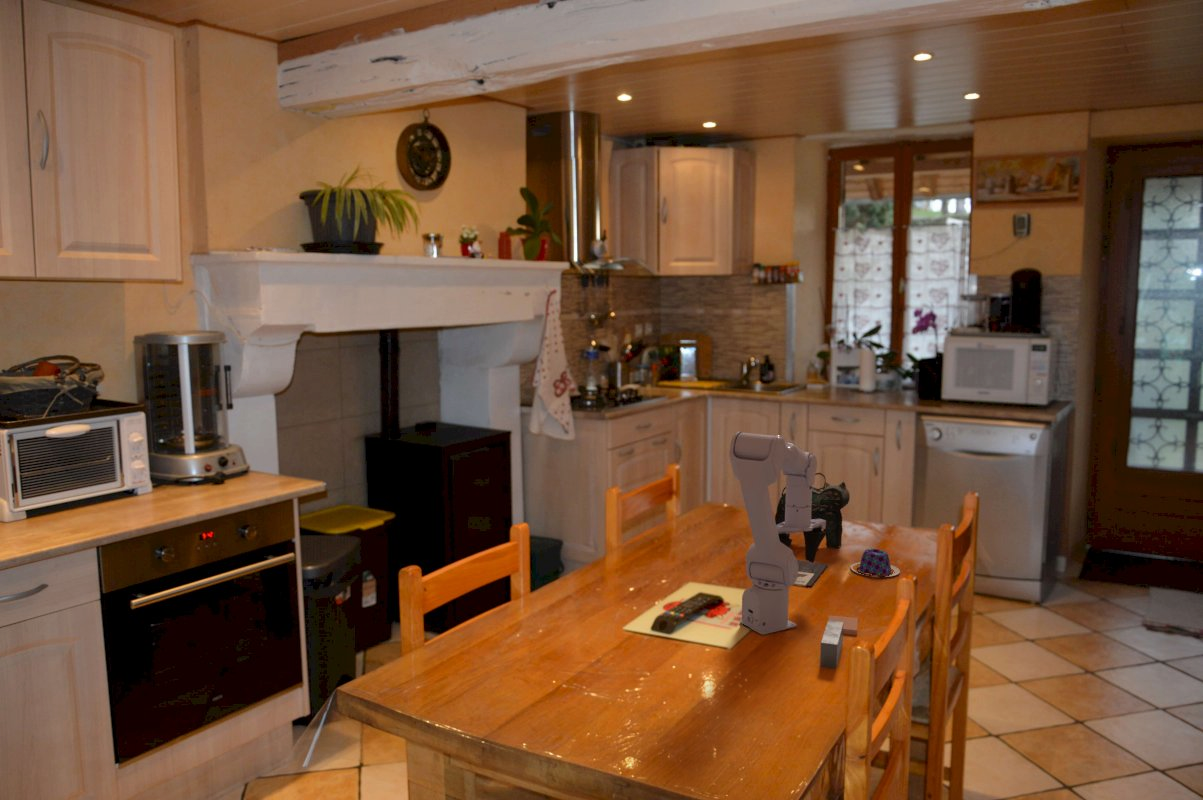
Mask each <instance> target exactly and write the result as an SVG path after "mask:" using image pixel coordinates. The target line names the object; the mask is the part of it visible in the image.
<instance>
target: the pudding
mask: <svg viewBox="0 0 1203 800" xmlns="http://www.w3.org/2000/svg"><path fill="white" fill-rule="evenodd" d="M857 564H860V565H859V570H860V571H859V570H858V571H859V572H861V571H862V572H863V573H869V574H872V575H879V574H880V575H887V576H885V577H884V578H890V577H894V576H897V575H899V574H900V573H901V570H900V569H899V568H898V567H897V566H895V565H892V564H891V561H890V557H889V554H888V552H887V551H886V550H882V549H878V548H870V549H866V550H864V551H863V553H862V555H861V559H860V561H858V562H855V563H852V564H851V565H850V570H852V572H855V573H857V574H859V575H863V576H867V577H870V576H869V574H866V575H864V574H861V573H862V572H861V573H858V572H856V571H855V570H854V569H853V566H855V565H857ZM891 569H893V570H894V572H895V573H894V572H893V574H892V575H891V573H892V571H891ZM872 575H871V576H872ZM888 575H889V576H888ZM872 577H875V578H876V577H877V578H879V577H878V576H872Z"/></svg>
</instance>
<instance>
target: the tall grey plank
mask: <svg viewBox="0 0 1203 800" xmlns="http://www.w3.org/2000/svg"><path fill="white" fill-rule="evenodd" d="M843 623H844V622H838V621H831V620H828V619H827V622H826V626H825V630H824V632H823V635H822V638H821V642H820V654H819V655H820V656H819V657H820V658H819V662H820V663H819V667H820V668H825V669H832V670H837V668H838V664H839V660H840V657H841V652H842V649H843V644H844V643H843V642H844V641H843V640H844V634H843Z"/></svg>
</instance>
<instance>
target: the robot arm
mask: <svg viewBox="0 0 1203 800" xmlns="http://www.w3.org/2000/svg"><path fill="white" fill-rule="evenodd" d="M728 453H729V454H728V455H729V456H728V457H729V460H730V463H731V469H732V471H733V475H734V477H735V478H736V479H737V480H738V481H739V484H740V489H741V494H742V499H743V503H744V506H745V510H746V515H747V518H748V523H749V527H750V530H751V534H752V540H753V542H752V543H751V545H750V546H749V548H748V549H747V551H746V554H745V572H746V575H747V577H748V578H749V579H750V580H751V584H752V585H751V586H750V587H748V588H746V589H745V590H744V591H743V592H742V593H743V594H742V595H741V619H740V620H738V622H740V623H739V624H741V623H742V624H741V625H743V624H744V625H746V626H748V627H750V628H751V629H750V628H749V629H750V630H753V631H754V632H756V633H758V634H760V635H762V636H763V635H769V634H772V633H776V632H781V631H784V630H789V629H793V628H797V626H798V625H797V623H795V622H794V621H791V620H789V601H790V600H789V599H790V597H789V596H790V588H791V587H792V586H794V585H793V584H794V583H795V581H796V579H797V576H798V561H797V560H798V559H797V558H796V557H795V554H794V552H793V549H792V548H791V546H792V542H793V539H791V538H790V537H789V538H787V537H788V536H786V534H790V535H791V534H796V533H803V538H804V546H805V547H804V549H805V551H804V557H805V561H808V562H815V559H816V556H817V554H818V553H817V552H818V551H819V548H820V545H821V543H822V542H823V539H824V538H826V535H825V531H823V529H825V528H826V521H825V520H822V519H811V507H812V487H813V485H815V480H816V475H815V474H816V473H817V468H818V459H817V456H816V455H815V454H813V453H812V452H809V451H803V450H802V447H801V446H797V445H796V442H794V441H791V440H786V441H785V437H784V436H782V435H780V434H779V435H771V434H762V433H761V434H760V433H752V432H751V433H750V432H744V431H737V432H735V433H734V435H733V436H732V438H731V441H730V446H729V452H728ZM781 470H782V474H783V476H785V487H786V489H785V493H786V501H785V522H783V523H780V524H778V525H776V522H775V514H774V510H773V506H772V502H771V500H772V499H771V497H770V491H769V488H768V487H769V486H771V485H772V484H775V483H776V482H778V479H779V476H780V474H781ZM744 625H743V626H744ZM746 626H745V627H746ZM748 627H747V628H748Z"/></svg>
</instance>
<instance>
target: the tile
mask: <svg viewBox="0 0 1203 800" xmlns="http://www.w3.org/2000/svg"><path fill="white" fill-rule="evenodd" d="M828 620H831V621H838V622H844V623H843V635H850V636H858V621H859V619H858V617H852V616H851V617H850V616H849V617H848V616H840V615H839V616H838V615H829V614H828V618H827V621H828Z"/></svg>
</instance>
